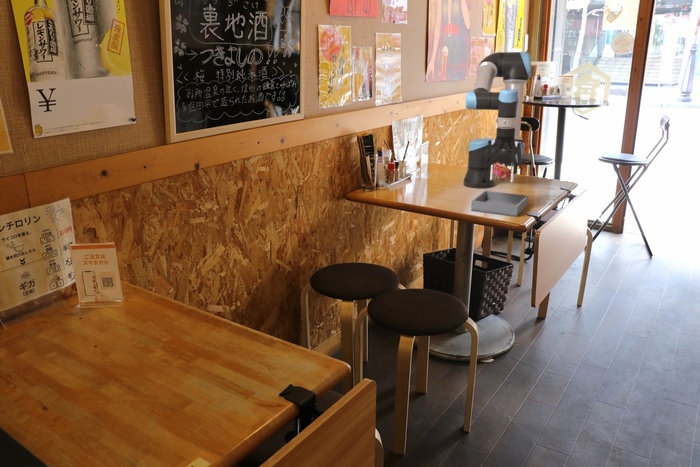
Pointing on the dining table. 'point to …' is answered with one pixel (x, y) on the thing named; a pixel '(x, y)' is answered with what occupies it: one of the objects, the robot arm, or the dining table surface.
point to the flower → (501, 172)
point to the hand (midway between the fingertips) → (501, 180)
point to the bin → (500, 203)
